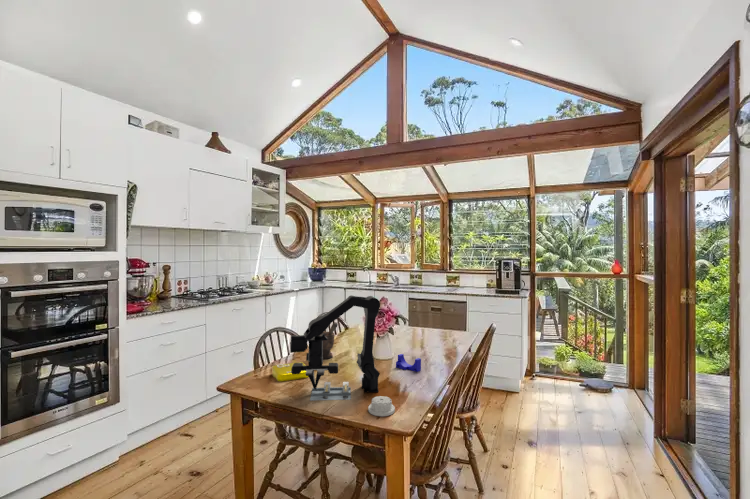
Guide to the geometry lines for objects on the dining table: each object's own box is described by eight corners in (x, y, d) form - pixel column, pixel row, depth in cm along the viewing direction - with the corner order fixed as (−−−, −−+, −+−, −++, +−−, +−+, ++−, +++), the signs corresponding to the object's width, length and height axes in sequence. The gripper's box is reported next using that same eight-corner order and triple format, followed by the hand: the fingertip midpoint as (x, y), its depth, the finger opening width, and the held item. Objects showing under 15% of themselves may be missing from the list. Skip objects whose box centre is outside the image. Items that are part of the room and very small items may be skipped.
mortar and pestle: (341, 356, 209) (341, 320, 208) (336, 360, 200) (336, 323, 200) (321, 354, 212) (322, 318, 211) (315, 359, 203) (316, 322, 203)
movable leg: (330, 390, 158) (330, 381, 158) (329, 398, 150) (329, 389, 150) (324, 390, 158) (324, 382, 158) (323, 398, 150) (323, 389, 149)
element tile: (278, 385, 167) (277, 374, 167) (271, 374, 180) (271, 364, 180) (311, 380, 173) (311, 369, 173) (302, 370, 187) (302, 360, 187)
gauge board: (350, 390, 161) (350, 379, 161) (350, 401, 149) (350, 390, 149) (312, 390, 160) (312, 380, 160) (309, 402, 148) (309, 391, 148)
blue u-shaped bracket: (395, 367, 190) (396, 355, 190) (401, 365, 194) (401, 353, 194) (415, 373, 183) (415, 360, 183) (420, 370, 186) (421, 358, 186)
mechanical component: (400, 410, 142) (379, 403, 149) (400, 398, 142) (379, 392, 148) (383, 419, 135) (362, 411, 141) (383, 407, 134) (362, 400, 141)
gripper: (338, 345, 164) (338, 381, 164) (295, 345, 162) (294, 381, 163) (338, 353, 153) (337, 391, 153) (291, 353, 151) (290, 392, 151)
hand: (315, 388), depth 155 cm, fingers closed
